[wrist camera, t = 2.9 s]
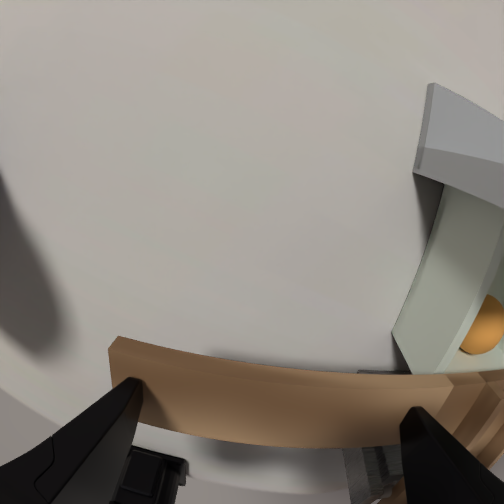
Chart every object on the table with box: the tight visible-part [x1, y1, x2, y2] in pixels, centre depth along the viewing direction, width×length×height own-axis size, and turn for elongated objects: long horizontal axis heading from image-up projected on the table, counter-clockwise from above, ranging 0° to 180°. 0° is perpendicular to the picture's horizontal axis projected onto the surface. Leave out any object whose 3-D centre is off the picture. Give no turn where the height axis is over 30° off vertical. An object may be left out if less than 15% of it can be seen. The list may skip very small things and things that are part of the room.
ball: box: [460, 294, 504, 354], centre depth 12 cm, size 3×3×3 cm
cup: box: [391, 184, 504, 375], centre depth 11 cm, size 8×8×4 cm
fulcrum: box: [342, 370, 413, 504], centre depth 14 cm, size 8×10×7 cm
